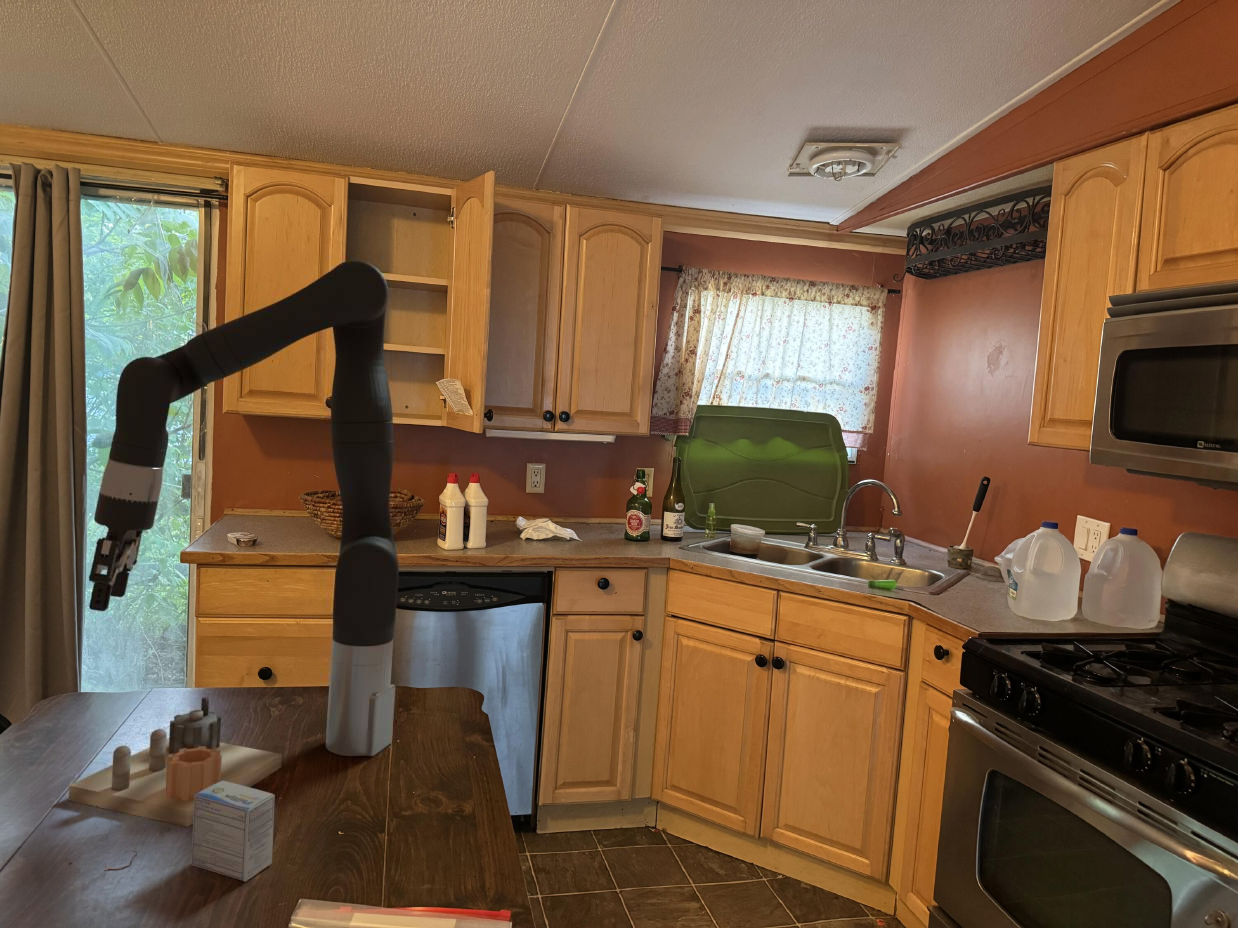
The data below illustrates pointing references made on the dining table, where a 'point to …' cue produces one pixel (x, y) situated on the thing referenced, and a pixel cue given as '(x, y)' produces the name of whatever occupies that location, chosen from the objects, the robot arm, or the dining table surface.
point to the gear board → (143, 774)
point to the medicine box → (233, 830)
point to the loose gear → (192, 771)
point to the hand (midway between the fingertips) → (107, 602)
